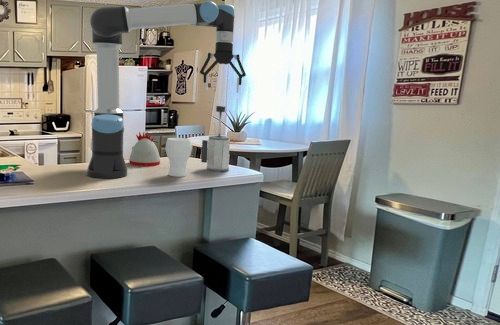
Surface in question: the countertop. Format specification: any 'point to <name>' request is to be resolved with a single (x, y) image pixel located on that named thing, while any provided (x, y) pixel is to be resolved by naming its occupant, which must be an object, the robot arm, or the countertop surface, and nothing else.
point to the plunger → (220, 110)
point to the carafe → (216, 153)
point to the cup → (178, 155)
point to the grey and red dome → (144, 152)
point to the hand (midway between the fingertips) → (222, 91)
